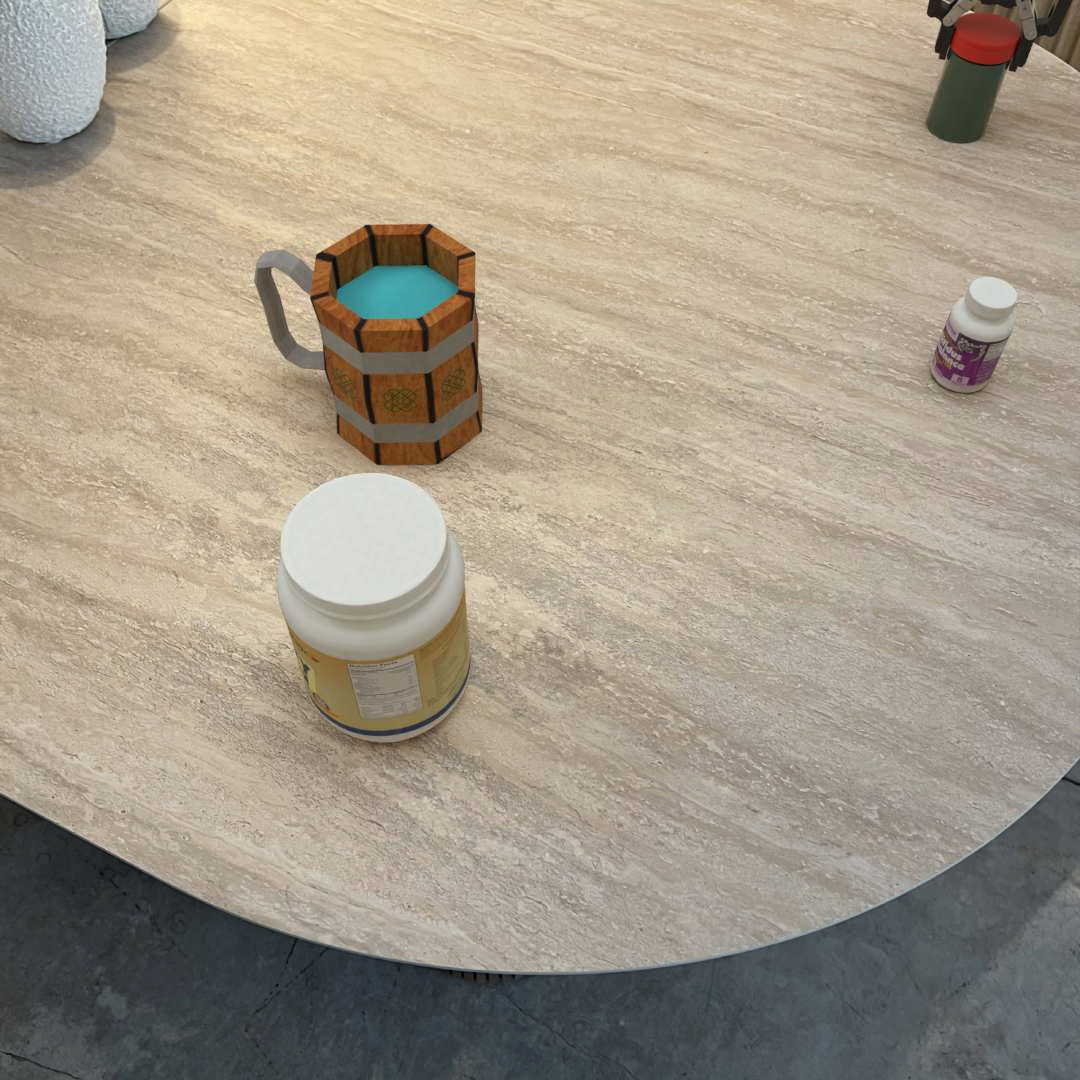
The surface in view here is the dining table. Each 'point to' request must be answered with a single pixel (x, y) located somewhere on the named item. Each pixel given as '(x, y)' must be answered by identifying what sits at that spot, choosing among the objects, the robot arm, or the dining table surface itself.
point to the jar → (964, 98)
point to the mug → (389, 338)
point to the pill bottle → (975, 335)
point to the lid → (985, 38)
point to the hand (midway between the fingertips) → (976, 61)
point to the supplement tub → (375, 606)
